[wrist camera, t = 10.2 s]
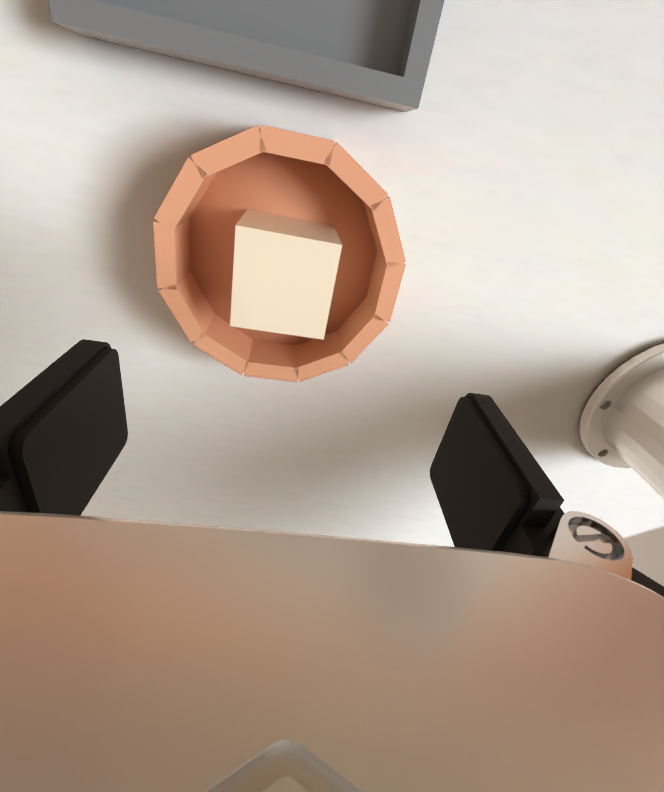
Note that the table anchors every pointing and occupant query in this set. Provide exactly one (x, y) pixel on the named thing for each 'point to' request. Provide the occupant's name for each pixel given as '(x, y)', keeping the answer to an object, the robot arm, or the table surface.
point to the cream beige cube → (283, 274)
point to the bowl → (287, 196)
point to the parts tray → (280, 39)
